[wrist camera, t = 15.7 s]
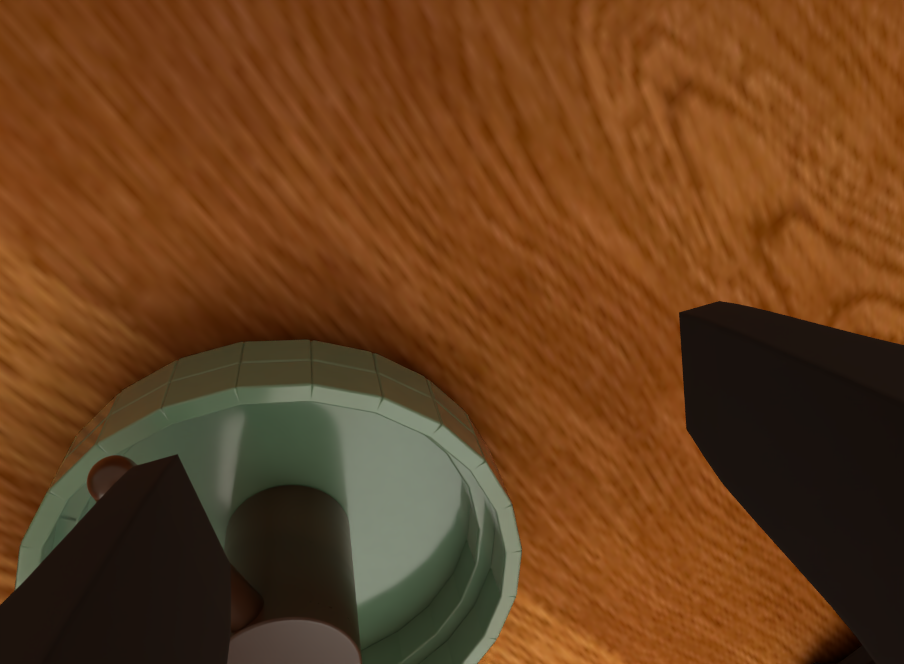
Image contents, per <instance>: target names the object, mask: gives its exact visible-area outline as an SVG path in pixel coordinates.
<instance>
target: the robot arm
mask: <svg viewBox="0 0 904 664" xmlns="http://www.w3.org/2000/svg"><path fill="white" fill-rule="evenodd" d="M679 318H680V334H681V350H682V365H683V381H684V397H685V413H686V429H687V431H688V432H689V434H690V435H691V437H692V438H693V440H694V441H695V443H696V445H697V446H698V448H699V449H700V451H701V452H702V454H703V456H704V457H705V459H706V460H707V462H708V463H709V464H710V466H711V467H712V469H713V470H714V472H715V473H716V475H717V476H718V478H719V479H720V480H721V482H722V483H723V484H724V486H725V487H726V488H727V489H728V490H729V491H730V493H731V494H732V495H733V496H734V497H735V498H736V500H737V501H738V502H739V503H740V504H741V505H742V506H743V508H744V509H745V510H746V511H747V512H748V513H749V514H750V516H751V517H752V518H753V519H754V520H755V521H756V522H757V524H758V525H759V526H760V527H761V528H762V529H763V530H764V531H765V533H766V534H767V535H768V536H769V537H770V538H771V539H772V540H773V542H774V543H775V544H776V545H777V546H778V547H779V548H780V549H781V550H782V552H783V553H784V554H785V555H786V556H787V557H788V558H789V559H790V561H791V562H792V563H793V564H794V565H795V566H796V567H797V568H798V569H799V571H800V572H801V573H802V574H803V575H804V576H805V577H806V578H807V580H808V581H809V582H810V583H811V584H812V585H813V586H814V587H815V589H816V590H817V591H818V592H819V593H820V594H821V595H822V596H823V597H824V599H825V600H826V601H827V602H828V603H829V604H830V605H831V607H832V608H833V609H834V610H835V611H836V613H837V614H838V615H839V616H840V618H841V619H842V620H843V621H844V622H845V624H846V625H847V626H848V627H849V628H850V630H851V631H852V632H853V633H854V635H855V636H856V637H857V638H858V640H859V641H860V643H861V644H862V645H863V647H864V648H865V649H866V651H867V652H868V653H869V655H870V656H871V658H872V659H873V660H874V662H875V663H876V664H904V345H901V344H896V343H892V342H888V341H884V340H879V339H875V338H871V337H867V336H863V335H859V334H855V333H851V332H847V331H843V330H839V329H835V328H831V327H828V326H824V325H820V324H816V323H812V322H808V321H805V320H801V319H797V318H793V317H789V316H785V315H782V314H778V313H774V312H770V311H766V310H761V309H757V308H753V307H749V306H744V305H739V304H734V303H728V302H721V301H718V302H715V303H711V304H708V305H704V306H701V307H697V308H693V309H690V310H686V311H683V312H679ZM230 635H231V567H230V562H229V560H228V558H227V556H226V554H225V552H224V550H223V548H222V546H221V544H220V542H219V539H218V537H217V535H216V533H215V531H214V529H213V527H212V525H211V523H210V521H209V519H208V516H207V514H206V512H205V510H204V508H203V506H202V504H201V502H200V500H199V498H198V496H197V493H196V491H195V489H194V487H193V485H192V483H191V481H190V479H189V477H188V475H187V473H186V471H185V468H184V466H183V464H182V462H181V460H180V458H179V456H178V454H176V455H172V456H169V457H165V458H162V459H158V460H154V461H151V462H147V463H144V464H140V465H137V466H133V467H132V468H131V469H129V470H128V471H127V472H126V473H125V474H124V475H123V476H122V477H121V478H120V479H119V480H118V481H117V482H116V483H115V484H114V485H113V486H112V487H111V488H110V489H109V490H108V491H107V492H106V493H105V494H104V495H103V496H102V497H101V498H100V499H99V500H98V501H97V503H96V504H95V505H94V506H93V507H92V508H91V509H90V510H89V511H88V512H87V513H86V515H85V516H84V517H83V518H82V519H81V520H80V521H79V522H78V523H77V524H76V525H75V527H74V528H73V529H72V530H71V531H70V532H69V533H68V534H67V535H66V536H65V537H64V539H63V540H62V541H61V542H60V543H59V544H58V545H57V546H56V547H55V548H54V549H53V550H52V552H51V553H50V554H49V555H48V556H47V557H46V558H45V559H44V560H43V561H42V562H41V563H40V565H39V566H38V567H37V568H36V569H35V570H34V571H33V572H32V573H31V574H30V575H29V576H28V577H27V579H26V580H25V581H24V582H23V583H22V584H21V585H20V586H19V587H18V588H17V589H16V590H15V591H14V592H13V593H12V594H11V595H10V596H9V597H8V598H7V599H6V600H5V601H4V602H3V603H2V604H1V605H0V664H227V660H228V652H229V643H230Z"/></svg>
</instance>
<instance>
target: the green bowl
mask: <svg viewBox="0 0 904 664" xmlns="http://www.w3.org/2000/svg"><path fill="white" fill-rule="evenodd" d="M176 454H178V456H179V458H180V460H181V462H182V464H183V466H184V468H185V471H186V473H187V475H188V477H189V479H190V481H191V483H192V485H193V487H194V489H195V491H196V493H197V496H198V498H199V500H200V502H201V504H202V506H203V508H204V510H205V512H206V514H207V516H208V519H209V521H210V523H211V525H212V527H213V529H214V531H215V533H216V535H217V537H218V539H219V542H220V544H221V546H222V548H223V550H224V544H225V537H226V531H227V526H228V523H229V520H230V519H231V517H232V515H233V513H234V512H235V511H236V509H237V508H238V507H239V506H240V505H241V504H242V503H243V502H244V501H246V500H247V499H248V498H250V497H251V496H253V495H255V494H257V493H259V492H261V491H263V490H266V489H269V488H272V487H277V486H284V485H301V486H307V487H311V488H315V489H318V490H320V491H322V492H324V493H326V494H328V495H329V496H331V497H332V498H333V499H335V500H336V501H337V502H338V503H339V504H340V505H341V507H342V508H343V510H344V511H345V513H346V515H347V517H348V521H349V526H350V537H351V548H352V559H353V569H354V580H355V591H356V602H357V613H358V624H359V634H360V645H361V656H362V664H478V662H479V661H480V660H481V659H482V657H483V656H484V655H485V654H486V652H487V651H488V650H489V649H490V647H491V646H492V645H493V644H494V642H495V641H496V638H498V636H499V634H500V632H501V629H502V627H503V625H504V623H505V621H506V618H507V616H508V614H509V612H510V609H511V607H512V605H513V603H514V600H515V598H516V595H517V588H518V580H519V571H520V563H521V555H522V550H521V549H522V546H521V542H520V537H519V533H518V528H517V523H516V519H515V514H514V509H513V505H512V502H511V500H510V497H509V495H508V493H507V490H506V488H505V486H504V483H503V481H502V478H501V476H500V474H499V471H498V469H497V467H496V464H495V462H494V460H493V457H492V455H491V453H490V451H489V449H488V447H487V446H486V444H485V442H484V441H483V439H482V438H481V436H480V434H479V433H478V431H477V429H476V428H475V426H474V424H473V423H472V421H471V419H470V418H469V416H468V415H467V414H466V413H465V411H464V410H463V409H462V408H460V407H459V406H458V405H457V404H456V403H455V402H454V401H453V400H451V399H450V398H449V397H448V396H447V395H446V394H445V393H443V392H442V391H441V390H440V389H439V388H438V387H437V386H436V385H434V384H433V383H432V382H431V381H430V380H428V379H426V378H425V377H424V376H422V375H420V374H418V373H416V372H414V371H412V370H410V369H408V368H406V367H403V366H401V365H399V364H397V363H395V362H393V361H391V360H389V359H387V358H385V357H383V356H381V355H379V354H376V353H374V354H373V353H372V352H370V351H365V350H360V349H355V348H350V347H345V346H340V345H335V344H330V343H325V342H320V341H316V340H312V341H310V340H308V339H306V340H276V341H247V342H244V343H243V342H239V343H235V344H231V345H228V346H224V347H220V348H217V349H213V350H209V351H206V352H202V353H198V354H195V355H191V356H187V357H184V358H180V359H178V360H176V361H174V362H172V363H170V364H168V365H166V366H165V367H163V368H161V369H159V370H158V371H156V372H154V373H152V374H150V375H149V376H147V377H145V378H143V379H141V380H140V381H138V382H136V383H134V384H132V385H131V386H129V387H127V388H125V389H123V390H122V391H121V393H119V394H117V395H116V396H115V397H114V398H113V399H112V400H111V401H110V402H109V403H108V404H107V405H106V406H105V407H104V408H103V409H102V410H101V411H100V412H99V413H98V414H97V415H96V416H95V417H94V418H93V419H92V420H91V421H90V422H89V423H88V424H87V425H86V426H85V427H84V428H83V429H82V430H81V431H80V432H79V433H78V435H76V437H75V439H74V441H73V443H72V444H71V446H70V448H69V450H68V452H67V454H66V456H65V458H64V460H63V462H62V464H61V466H60V468H59V469H58V471H57V473H56V475H55V477H54V479H53V481H52V483H51V485H50V487H49V489H48V491H47V493H46V494H45V496H44V498H43V500H42V502H41V504H40V506H39V508H38V510H37V512H36V514H35V516H34V518H33V520H32V521H31V523H30V525H29V527H28V529H27V531H26V533H25V535H24V537H23V539H22V541H21V544H20V547H19V555H18V564H17V573H16V581H15V590H16V589H17V588H18V587H19V586H20V585H21V584H22V583H23V582H24V581H25V580H26V579H27V577H28V576H29V575H30V574H31V573H32V572H33V571H34V570H35V569H36V568H37V567H38V566H39V565H40V563H41V562H42V561H43V560H44V559H45V558H46V557H47V556H48V555H49V554H50V553H51V552H52V550H53V549H54V548H55V547H56V546H57V545H58V544H59V543H60V542H61V541H62V540H63V539H64V537H65V536H66V535H67V534H68V533H69V532H70V531H71V530H72V529H73V528H74V527H75V525H76V524H77V523H78V522H79V521H80V520H81V519H82V518H83V517H84V516H85V515H86V513H87V512H88V511H89V510H90V509H91V508H92V507H93V506H94V505H95V504H96V503H97V502H96V501H95V500H94V499H93V498H92V496H91V495H90V493H89V491H88V489H87V477H88V474H89V471H90V470H91V468H92V467H93V465H94V464H95V463H97V462H98V461H99V460H101V459H103V458H105V457H108V456H113V455H121V456H125V457H128V458H129V459H131V460H133V461H134V462H135V463H136V464H137V465H140V464H144V463H147V462H151V461H154V460H158V459H162V458H165V457H169V456H172V455H176ZM15 590H14V591H15Z"/></svg>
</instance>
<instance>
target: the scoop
mask: <svg viewBox="0 0 904 664" xmlns="http://www.w3.org/2000/svg"><path fill="white" fill-rule="evenodd" d="M133 466H137V464H136V463H135V462H134V461H133V460H131V459H129V458H128V457H125V456H121V455H113V456H108V457H105V458H103V459H101V460H99V461H98V462H97V463H95V464H94V465H93V467H92V468H91V470H90V471H89V474H88V477H87V489H88V491H89V493H90V495H91V496H92V498H93V499H94V500H95V501H96V502H97V501H98V500H99V499H100V498H101V497H102V496H103V495H104V494H105V493H106V492H107V491H108V490H109V489H110V488H111V487H112V486H113V485H114V484H115V483H116V482H117V481H118V480H119V479H120V478H121V477H122V476H123V475H124V474H125V473H126V472H127V471H128V470H129V469H131V468H132V467H133ZM224 552H225V554H226V556H227V558H228V560H229V562H230V567H231V635H230V643H229V652H228V660H227V664H362V656H361V645H360V634H359V624H358V613H357V602H356V591H355V580H354V569H353V559H352V548H351V537H350V526H349V521H348V517H347V515H346V513H345V511H344V510H343V508H342V507H341V505H340V504H339V503H338V502H337V501H336V500H335V499H333V498H332V497H331V496H329V495H328V494H326V493H324V492H322V491H320V490H318V489H315V488H311V487H307V486H301V485H284V486H277V487H272V488H269V489H266V490H263V491H261V492H259V493H257V494H255V495H253V496H251V497H250V498H248V499H247V500H246V501H244V502H243V503H242V504H241V505H240V506H239V507H238V508H237V509H236V511H235V512H234V513H233V515H232V517H231V519H230V520H229V523H228V526H227V531H226V537H225V544H224Z"/></svg>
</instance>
